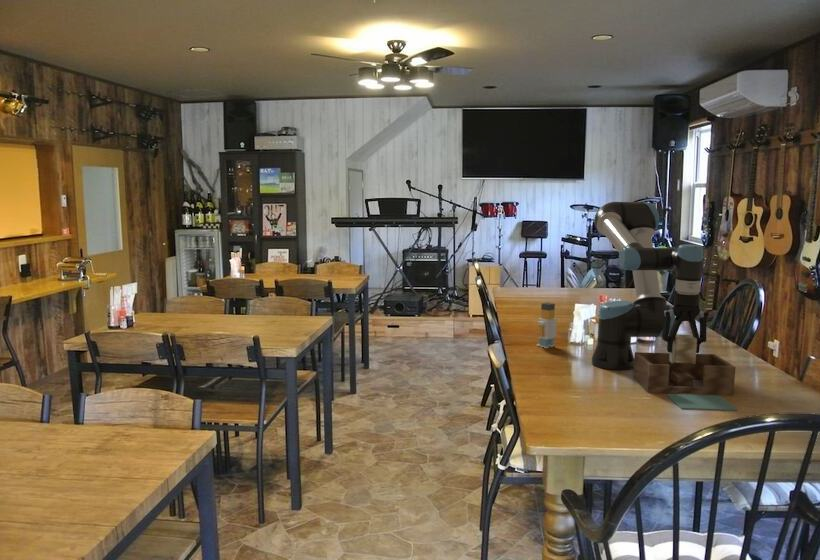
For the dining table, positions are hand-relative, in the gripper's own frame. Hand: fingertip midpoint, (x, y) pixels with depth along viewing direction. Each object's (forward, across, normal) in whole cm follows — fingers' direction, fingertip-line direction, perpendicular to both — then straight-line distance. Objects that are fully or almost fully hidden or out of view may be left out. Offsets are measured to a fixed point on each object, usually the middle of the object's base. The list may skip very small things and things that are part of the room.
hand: (682, 362), depth 209 cm
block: (-1, 0, 0) cm, 1 cm away
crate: (+8, 0, -1) cm, 8 cm away
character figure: (+9, -36, +52) cm, 64 cm away
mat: (+8, 0, -18) cm, 19 cm away
